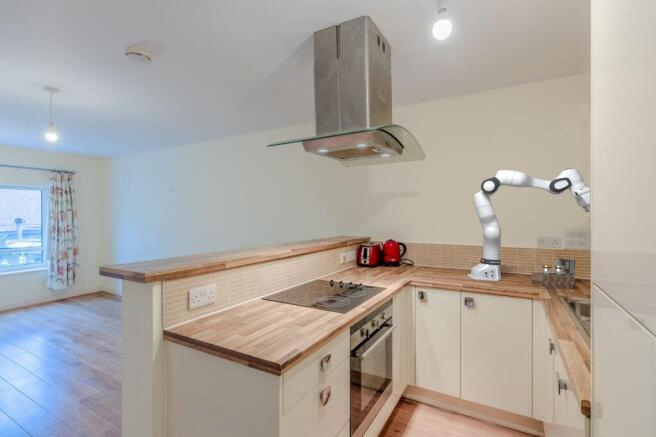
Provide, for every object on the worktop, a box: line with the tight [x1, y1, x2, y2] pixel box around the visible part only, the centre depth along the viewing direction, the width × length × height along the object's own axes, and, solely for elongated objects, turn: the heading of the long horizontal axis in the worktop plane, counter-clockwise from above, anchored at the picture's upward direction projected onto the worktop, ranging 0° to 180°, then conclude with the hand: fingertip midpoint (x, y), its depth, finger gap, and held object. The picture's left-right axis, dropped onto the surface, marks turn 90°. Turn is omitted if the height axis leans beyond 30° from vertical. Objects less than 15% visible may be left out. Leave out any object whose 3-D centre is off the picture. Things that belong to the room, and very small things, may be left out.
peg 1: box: [541, 264, 553, 275], centre depth 202 cm, size 6×6×9 cm
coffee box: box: [555, 257, 576, 285], centre depth 214 cm, size 9×6×16 cm
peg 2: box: [553, 264, 565, 275], centre depth 202 cm, size 6×6×9 cm
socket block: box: [531, 271, 575, 290], centre depth 203 cm, size 20×10×8 cm, turn 88°
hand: (590, 211), depth 193 cm, fingers open, 8 cm apart
